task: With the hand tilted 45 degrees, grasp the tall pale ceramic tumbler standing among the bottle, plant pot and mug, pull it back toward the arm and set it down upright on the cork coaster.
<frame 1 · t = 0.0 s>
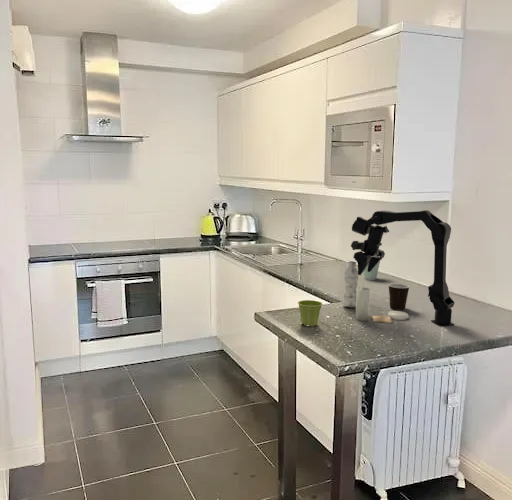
hand: (364, 273, 223), 15 cm above the worktop, tool pointing down, fingers open, 9 cm apart
ivory rounded dome part: (397, 317, 212), on the worktop
plant pot: (309, 325, 200), on the worktop
coaster: (381, 320, 208), on the worktop
plastic bottle: (349, 307, 227), on the worktop
tumbler: (361, 319, 209), on the worktop
disposable coffee cup: (370, 279, 286), on the worktop
coffee mug: (395, 309, 225), on the worktop
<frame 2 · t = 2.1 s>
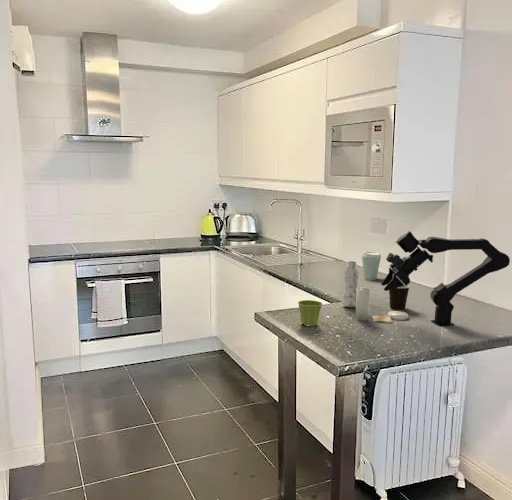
hand: (383, 287, 206), 13 cm above the worktop, tool tilted 45°, fingers open, 9 cm apart
nothing on the worktop moved.
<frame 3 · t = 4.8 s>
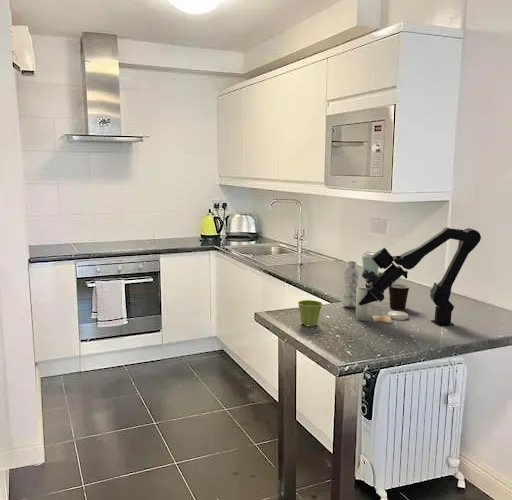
hand: (358, 302, 208), 7 cm above the worktop, tool tilted 45°, fingers closed on tumbler, 5 cm apart
tumbler: (361, 318, 209), on the worktop, touching gripper
everything else where it was.
when the fingers open (8 cm above the worktop, at t = 8.4 s): tumbler stays where it is, resting on coaster.
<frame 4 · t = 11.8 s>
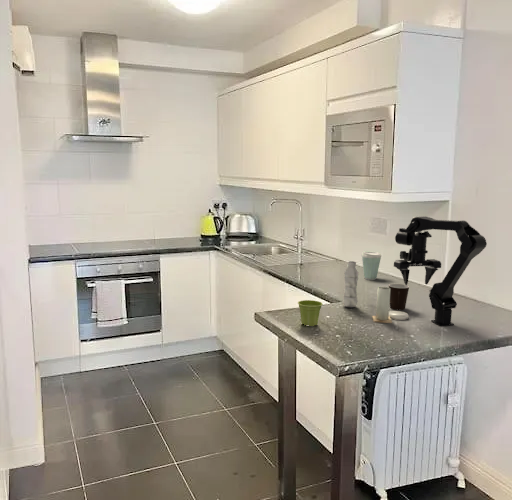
hand: (416, 284, 214), 13 cm above the worktop, tool pointing down, fingers open, 9 cm apart
tumbler: (382, 318, 208), point 1 cm above the worktop, touching coaster
everything else where it was.
at the end: tumbler inside the target area on the coaster (0.1 cm from its centre), point 0.6 cm above the coaster's base; tumbler tilted 1°; the gripper is holding nothing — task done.
